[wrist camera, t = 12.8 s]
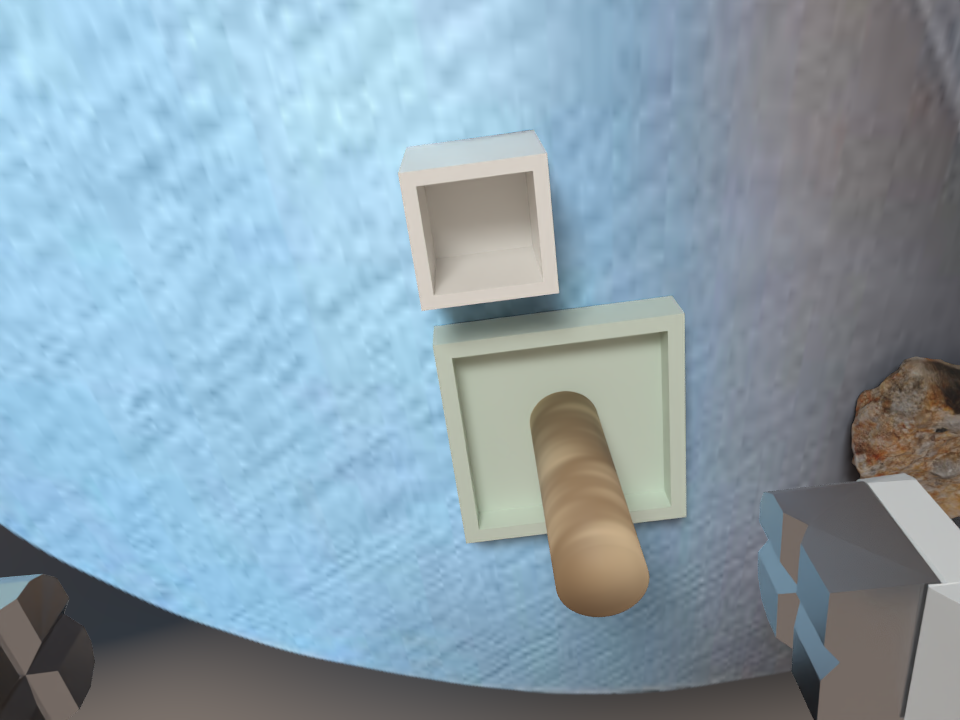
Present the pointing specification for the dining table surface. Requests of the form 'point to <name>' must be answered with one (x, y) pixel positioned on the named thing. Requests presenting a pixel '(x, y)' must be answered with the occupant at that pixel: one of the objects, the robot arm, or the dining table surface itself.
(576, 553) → the dowel
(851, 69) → the dining table surface
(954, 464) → the rock
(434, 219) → the pen cup
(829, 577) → the robot arm
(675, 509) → the tray
